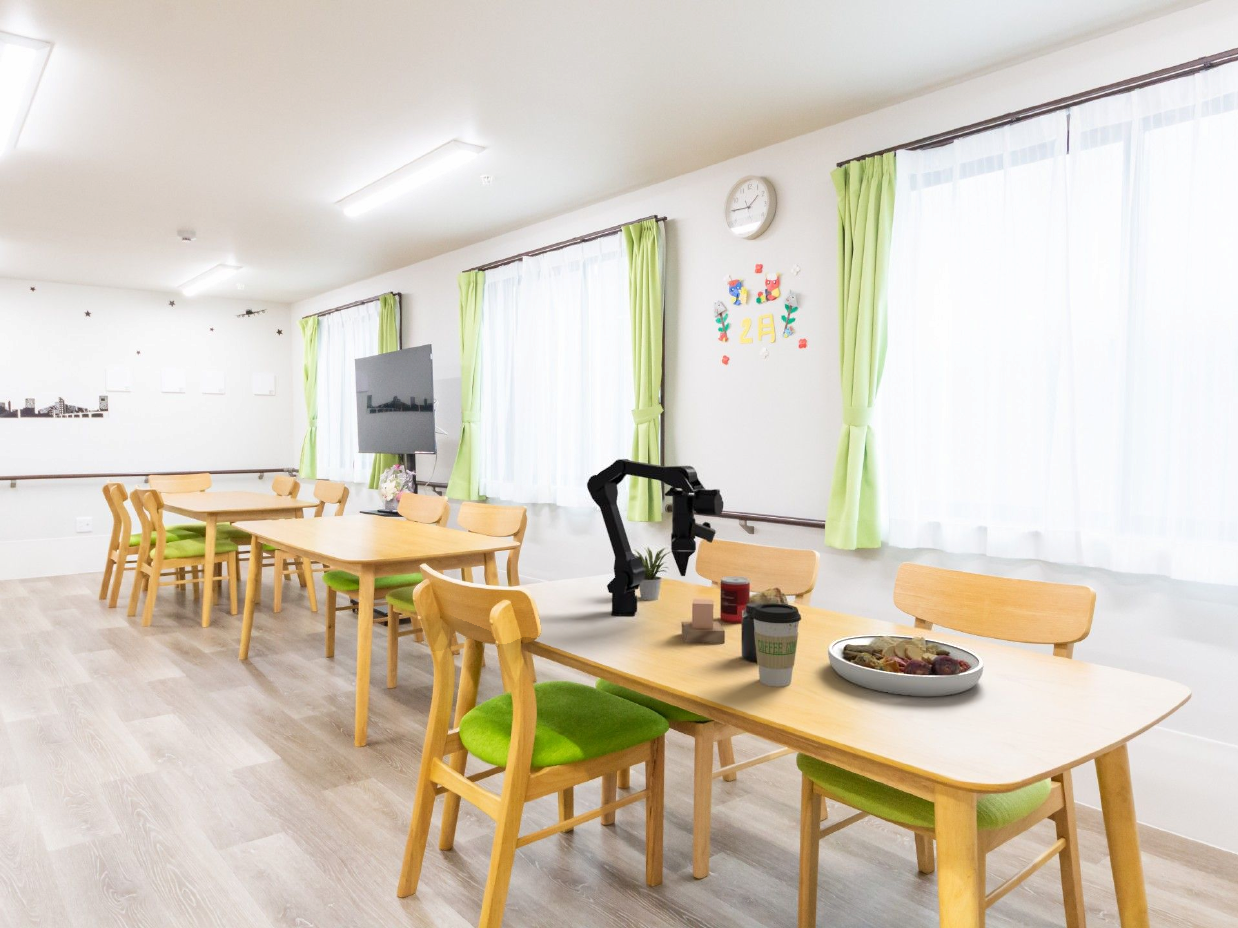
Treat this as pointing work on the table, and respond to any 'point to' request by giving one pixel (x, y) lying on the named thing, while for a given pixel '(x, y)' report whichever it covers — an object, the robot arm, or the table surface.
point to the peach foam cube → (702, 613)
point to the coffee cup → (776, 642)
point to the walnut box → (703, 634)
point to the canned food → (734, 598)
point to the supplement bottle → (748, 634)
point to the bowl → (905, 664)
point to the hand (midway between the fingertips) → (682, 572)
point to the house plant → (651, 575)
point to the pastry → (769, 597)
